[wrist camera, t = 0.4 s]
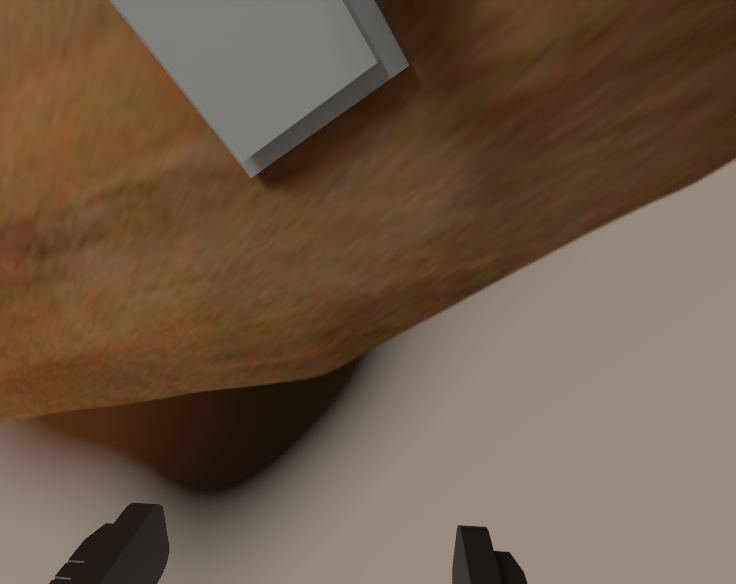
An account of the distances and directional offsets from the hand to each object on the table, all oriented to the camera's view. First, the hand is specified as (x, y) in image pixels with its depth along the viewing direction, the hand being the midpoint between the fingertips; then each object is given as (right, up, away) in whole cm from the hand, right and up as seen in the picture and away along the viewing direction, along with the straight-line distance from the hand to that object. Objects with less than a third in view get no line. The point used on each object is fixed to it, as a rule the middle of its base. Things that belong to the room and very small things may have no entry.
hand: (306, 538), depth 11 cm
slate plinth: (-6, +27, +20) cm, 34 cm away
